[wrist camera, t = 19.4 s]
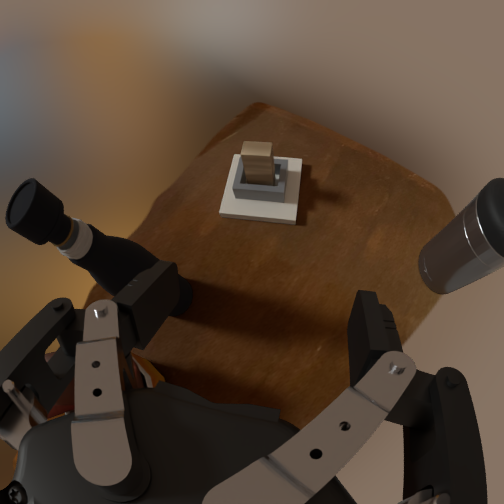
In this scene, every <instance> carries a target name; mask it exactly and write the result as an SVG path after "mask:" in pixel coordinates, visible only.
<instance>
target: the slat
mask: <svg viewBox="0 0 504 504" xmlns="http://www.w3.org/2000/svg"><path fill="white" fill-rule="evenodd" d="M241 159H242V163H243V167H244V171H245V175H246V179H247V183H248V184H254V185H267V186H275V180H276V177H275V166H274V155H273V145H272V143H269V142H248V141H244V143H243V147H242V151H241Z"/></svg>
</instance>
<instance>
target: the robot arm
mask: <svg viewBox="0 0 504 504" xmlns="http://www.w3.org/2000/svg"><path fill="white" fill-rule="evenodd" d="M503 266H504V178H496V179H493V180H491V181H490V182H489V183H488V184H487V185H486V186H485V187H484V188H483V189H482V190H481V191H480V192H479V193H478V195H476V197H475V198H474V199H473V200H472V201H471V202H470V203H469V204H468V205H467V206H466V207H465V208H464V209H463V210H462V211H461V212H460V213H459V214H458V215H457V216H456V217H455V218H454V219H453V220H452V221H451V222H450V223H449V224H448V225H447V226H446V227H444V228H443V229H442V230H441V231H440V232H439V233H438V234H437V235H436V236H435V237H434V238H432V239H431V240H430V241H429V242H428V243H427V244H426V245H425V246H424V247H423V249H422V250H421V253H420V256H419V270H420V274H421V276H422V279H423V281H424V282H425V284H426V285H427V286H428V287H429V288H430V289H431V290H432V291H434V292H436V293H439V294H448V293H450V292H453V291H455V290H457V289H459V288H462V287H464V286H466V285H468V284H470V283H472V282H474V281H477V280H478V279H481V278H482V277H485V276H486V275H488V274H490V273H492V272H494V271H496V270H498V269H500V268H502V267H503ZM179 297H180V288H179V279H178V269H177V265H176V263H174V262H169V261H163V260H159V261H158V262H157V263H156V264H155V265H154V266H153V267H152V268H151V269H147V270H145V271H143V272H141V273H139V274H138V275H137V276H136V277H135V278H134V279H133V281H130V282H129V283H128V285H126V286H125V287H124V288H123V289H122V290H121V291H120V292H119V293H118V294H117V295H116V296H115V297H114V298H113V299H112V300H99V301H96V302H94V303H92V304H91V305H89V306H88V307H87V309H86V310H85V309H74V307H73V304H72V302H71V300H70V299H68V298H57V299H54V300H52V301H51V302H50V303H48V304H47V305H46V306H45V307H44V308H43V309H42V310H41V311H40V312H39V313H38V314H37V315H36V316H34V317H33V318H32V319H31V320H30V321H29V322H28V323H27V324H26V325H25V326H24V327H23V328H22V329H21V330H20V332H18V333H17V334H16V335H15V336H14V338H13V339H11V341H10V342H9V343H8V344H7V345H6V346H5V347H4V348H3V349H2V350H1V351H0V438H1V439H3V440H4V441H5V442H6V443H7V444H8V445H9V446H10V447H12V448H13V449H15V450H18V459H17V465H16V470H15V473H14V477H13V479H12V481H11V483H10V484H9V485H8V486H7V487H6V488H4V489H3V490H0V504H357V503H356V502H355V501H354V499H353V498H352V497H351V495H350V494H349V493H348V492H347V490H346V489H345V488H344V486H343V485H342V484H341V482H340V481H339V480H338V478H337V477H336V474H337V473H338V472H339V471H340V470H341V469H342V468H343V467H344V466H345V465H346V464H347V463H348V462H349V461H350V459H351V458H352V457H353V456H354V455H355V454H356V453H357V452H358V451H359V449H360V448H361V447H362V446H363V445H364V444H365V443H366V441H367V440H368V439H369V438H370V437H371V435H372V434H373V433H374V431H376V429H377V428H378V427H379V425H380V424H381V423H382V422H383V420H386V421H390V422H393V423H396V424H400V425H403V438H404V486H403V501H401V502H399V503H398V504H487V484H486V473H485V465H484V457H483V450H482V444H481V438H480V433H479V428H478V423H477V419H476V415H475V410H474V406H473V402H472V399H471V395H470V392H469V388H468V384H467V381H466V379H465V377H464V375H463V374H462V373H461V372H460V371H458V370H457V369H454V368H451V367H444V368H441V369H440V370H439V371H438V372H437V374H436V375H432V374H428V373H425V372H422V371H419V370H417V369H416V365H415V363H414V361H413V360H412V359H411V358H410V357H409V356H408V355H406V354H404V353H403V350H402V346H401V342H400V338H399V335H398V331H397V330H396V325H395V323H394V318H393V315H392V312H391V311H390V310H389V309H388V308H387V306H386V305H382V304H379V302H378V298H377V295H376V292H372V291H364V290H358V292H357V294H356V298H355V301H354V304H353V308H352V311H351V315H350V318H349V322H348V329H347V335H348V349H349V366H350V386H349V387H348V388H347V389H346V390H345V391H344V392H343V393H342V394H341V395H340V396H339V397H338V398H337V399H336V400H334V401H333V402H332V403H331V404H330V405H329V406H328V407H327V408H326V409H325V410H324V411H323V412H321V413H320V414H319V415H318V416H317V417H316V418H315V419H314V420H312V421H311V422H310V423H309V424H308V425H307V426H305V427H304V428H303V429H302V430H300V429H299V428H297V427H296V426H294V425H293V424H291V423H289V422H287V421H285V420H283V419H280V418H279V414H280V409H274V408H268V407H262V406H257V405H252V404H218V403H213V402H210V401H208V400H206V399H204V398H203V397H201V396H199V395H197V394H195V393H193V392H191V391H190V390H188V389H186V388H183V387H179V386H176V385H173V384H170V383H166V382H163V381H160V380H159V381H158V383H157V385H156V386H155V388H151V387H145V388H138V387H137V382H136V376H135V371H134V365H133V359H132V354H131V350H132V348H133V347H135V348H138V349H141V350H144V349H145V347H146V346H147V344H148V343H149V342H150V340H151V339H152V338H153V336H154V335H155V333H156V332H157V331H158V329H159V328H160V327H161V325H162V324H163V322H164V321H165V320H166V318H167V317H168V316H169V314H170V313H171V312H172V310H173V309H174V308H175V306H176V305H177V303H178V301H179ZM56 338H57V340H58V342H59V344H60V348H59V349H58V350H57V351H56V352H55V353H54V355H53V356H52V357H51V358H50V359H49V361H48V362H46V360H45V351H46V349H47V348H48V346H50V344H51V343H52V342H53V341H54V340H55V339H56ZM74 376H75V412H72V413H70V414H67V415H64V416H61V417H58V418H55V419H53V420H50V421H47V417H48V416H47V415H48V414H49V412H50V411H51V409H52V408H53V406H54V405H55V403H56V402H57V400H58V399H59V397H60V396H61V395H62V393H63V392H64V390H65V389H66V388H67V386H68V385H69V383H70V382H71V381H72V379H73V378H74Z"/></svg>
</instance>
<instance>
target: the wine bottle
mask: <svg viewBox="0 0 504 504" xmlns="http://www.w3.org/2000/svg"><path fill="white" fill-rule="evenodd" d="M6 224H7V226H8V227H9V228H10V229H11V230H13V231H15V232H16V233H18V234H20V235H22V236H23V237H25V238H27V239H28V240H30V241H32V242H33V243H35V244H38V245H42V244H45V243H47V242H48V241H49V242H51V243H52V244H53V245H54V246H57V249H58V250H59V251H60V253H61V254H62V255H64V256H67V257H68V258H69V260H70V261H71V262H72V263H74V264H76V265H78V266H80V267H82V268H84V269H86V270H88V271H89V273H90V274H91V276H92V277H93V278H94V279H95V281H96V282H97V283H98V284H99V285H100V286H102V287H103V288H104V289H105V290H106V291H107V292H109V293H110V294H111V295H113V296H116V295H117V294H118V293H119V292H120V291H121V290H122V289H123V288H124V287H125V286H126V285H128V283H129V282H130V281H133V279H134V278H135V277H136V276H137V275H138V274H139V273H141V272H143V271H145V270H147V269H151V268H152V267H153V266H154V265H155V264H156V263H157V262H158V261H159V259H158V258H156V257H155V256H154V255H152V254H151V253H150V252H149V251H147V250H146V249H145V248H143V247H142V246H140V245H139V244H137V243H135V242H133V241H131V240H128V239H124V238H120V237H114V236H106V235H104V234H103V233H102V232H100V231H99V230H98V229H96V228H95V227H94V226H92V225H91V224H86V223H84V222H83V221H82V220H80V219H76V218H71V217H69V216H67V215H65V214H64V206H63V203H62V201H61V200H59V199H58V198H57V197H56V196H55V195H53V194H52V193H51V192H50V191H49V190H47V189H46V188H45V187H44V186H43V185H41V184H40V183H39V182H38V181H37V180H35V179H34V178H31V179H28V180H26V181H24V182H23V183H22V184H21V185H20V186H19V187H18V189H17V190H16V191H15V193H14V194H13V196H12V198H11V200H10V202H9V204H8V208H7V211H6ZM178 279H179V288H180V297H179V301H178V303H177V305H176V306H175V308H174V309H173V310H172V312H171V313H170V314H169V316H178V315H180V314H182V313H184V312H185V311H186V310H187V309H188V307H189V306H190V304H191V301H192V297H193V296H192V288H191V286H190V284H189V283H188V281H187V280H186V279H184V278H183V277H182V276H180V275H179V274H178Z"/></svg>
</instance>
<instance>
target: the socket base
mask: <svg viewBox="0 0 504 504" xmlns="http://www.w3.org/2000/svg"><path fill="white" fill-rule="evenodd" d="M274 166H275V177H276V180H275V186H267V185H254V184H248V183H247V179H246V175H245V171H244V167H243V163H242V159H241V155H237V154H234V157H233V161H232V165H231V169H230V172H229V176H228V180H227V184H226V188H225V192H224V196H223V200H222V204H221V208H220V212H219V214H220V216H221V217H225V218H235V219H245V220H255V221H265V222H274V223H284V224H292V225H295V224H296V215H297V207H298V198H299V188H300V179H301V169H302V159H297V158H285V157H274Z"/></svg>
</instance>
